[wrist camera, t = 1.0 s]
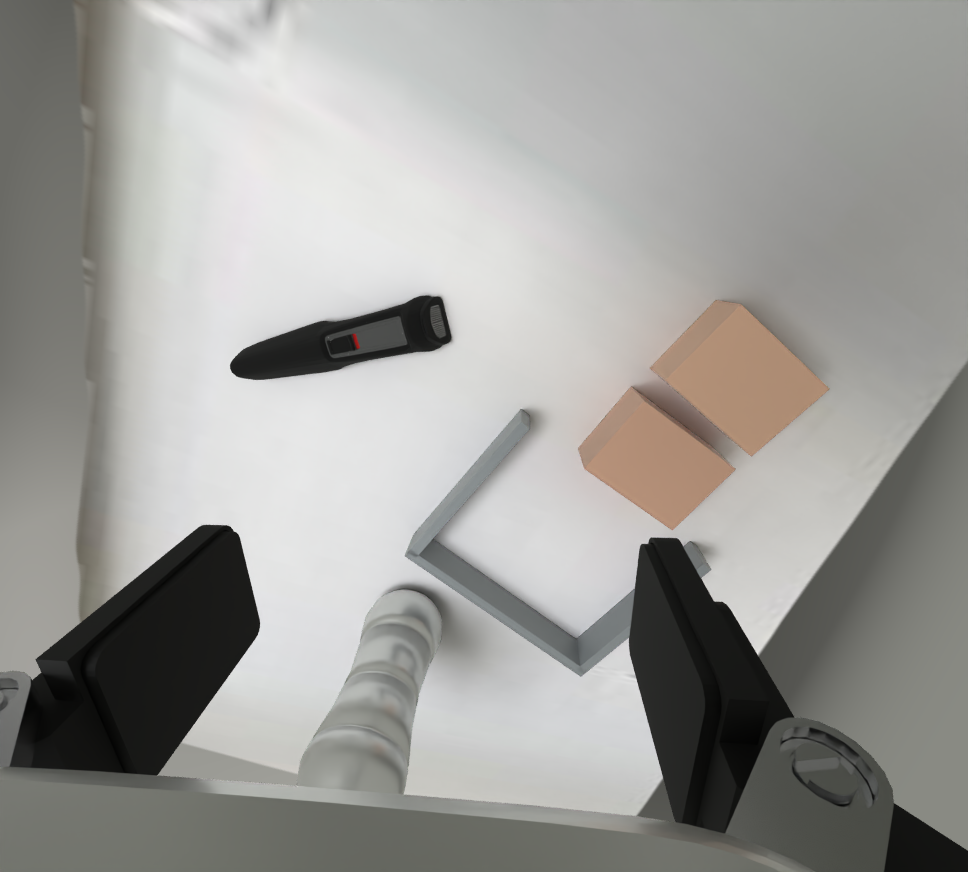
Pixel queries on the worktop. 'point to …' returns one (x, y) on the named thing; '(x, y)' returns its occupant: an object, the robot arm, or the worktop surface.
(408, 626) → the plastic bottle
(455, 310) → the worktop surface
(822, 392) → the tile
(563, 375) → the worktop surface
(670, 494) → the tile
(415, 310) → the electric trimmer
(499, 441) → the organizer bay
